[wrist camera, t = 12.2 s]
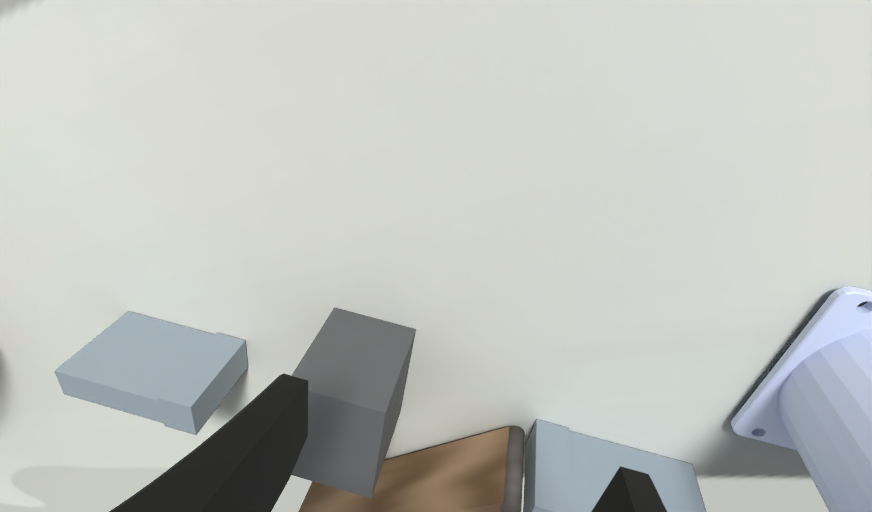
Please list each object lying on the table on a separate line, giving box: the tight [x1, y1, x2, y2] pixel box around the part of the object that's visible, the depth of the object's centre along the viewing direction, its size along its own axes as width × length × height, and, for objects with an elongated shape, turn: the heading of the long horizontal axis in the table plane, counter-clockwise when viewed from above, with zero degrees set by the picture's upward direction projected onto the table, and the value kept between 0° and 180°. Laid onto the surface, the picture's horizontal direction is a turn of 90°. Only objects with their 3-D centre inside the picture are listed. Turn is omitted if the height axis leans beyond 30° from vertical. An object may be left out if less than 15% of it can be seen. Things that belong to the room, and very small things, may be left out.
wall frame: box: [55, 311, 706, 512], centre depth 22 cm, size 30×2×4 cm, turn 80°
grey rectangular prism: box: [291, 308, 416, 498], centre depth 21 cm, size 4×6×5 cm, turn 170°
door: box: [299, 426, 525, 512], centre depth 25 cm, size 15×1×4 cm, turn 124°
